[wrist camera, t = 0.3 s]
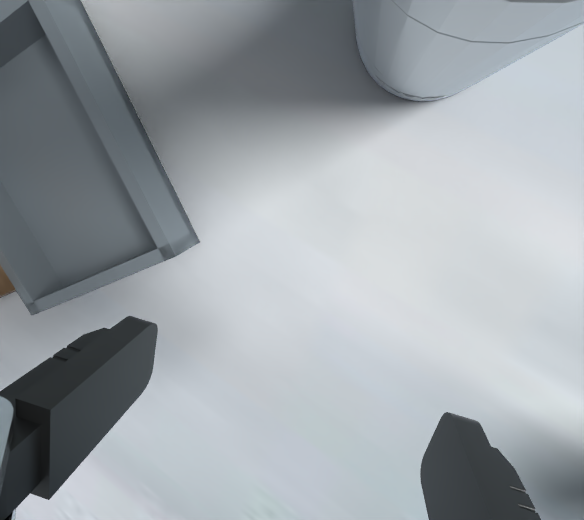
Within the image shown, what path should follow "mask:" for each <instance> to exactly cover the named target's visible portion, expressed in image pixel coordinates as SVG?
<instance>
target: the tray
mask: <svg viewBox="0 0 584 520" xmlns="http://www.w3.org/2000/svg"><path fill="white" fill-rule="evenodd" d="M199 242H200V241H199V239H198V237H197V235H196V233H195V231H194V229H193V227H192V225H191V223H190V221H189V219H188V217H187V215H186V213H185V211H184V209H183V207H182V205H181V203H180V201H179V199H178V197H177V195H176V193H175V191H174V189H173V187H172V185H171V183H170V181H169V178H168V176H167V174H166V172H165V170H164V168H163V166H162V164H161V162H160V160H159V158H158V156H157V154H156V152H155V150H154V148H153V146H152V144H151V142H150V140H149V138H148V136H147V134H146V132H145V130H144V128H143V126H142V124H141V122H140V120H139V118H138V116H137V114H136V112H135V110H134V108H133V106H132V104H131V102H130V100H129V98H128V95H127V93H126V91H125V89H124V87H123V85H122V83H121V81H120V79H119V77H118V75H117V73H116V71H115V69H114V67H113V65H112V63H111V61H110V59H109V57H108V55H107V53H106V51H105V49H104V47H103V45H102V43H101V41H100V39H99V37H98V35H97V33H96V31H95V29H94V27H93V25H92V23H91V21H90V19H89V17H88V15H87V12H86V10H85V8H84V6H83V4H82V2H81V0H0V265H1V267H2V269H3V270H4V272H5V273H6V275H7V276H8V278H9V280H10V281H11V283H12V284H13V286H14V288H15V290H16V291H17V293H18V294H19V296H20V298H21V299H22V301H23V302H24V304H25V305H26V307H27V309H28V310H29V312H30V313H31V315H34V314H37V313H39V312H42V311H44V310H46V309H49V308H51V307H54V306H56V305H59V304H61V303H63V302H66V301H68V300H71V299H73V298H76V297H78V296H80V295H83V294H85V293H88V292H90V291H93V290H95V289H98V288H100V287H102V286H105V285H107V284H110V283H112V282H115V281H117V280H119V279H122V278H124V277H127V276H129V275H132V274H134V273H136V272H139V271H141V270H144V269H146V268H149V267H151V266H153V265H156V264H158V263H161V262H163V261H166V260H168V259H171V258H173V257H175V256H177V255H179V254H181V253H182V252H184V251H186V250H187V249H189V248H191V247H192V246H194V245H196V244H198V243H199Z"/></svg>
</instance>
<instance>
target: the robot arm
mask: <svg viewBox="0 0 584 520" xmlns="http://www.w3.org/2000/svg"><path fill="white" fill-rule="evenodd" d="M353 8H354V20H355V31H356V41H357V45H358V49H359V53H360V57H361V59H362V61H363V63H364V65H365V67H366V69H367V71H368V73H369V74H370V75H371V76H372V78H373V79H374V80H375V81H376V82H377V84H379V85H380V86H381V87H383V88H384V89H385V90H387V91H388V92H389V93H391V94H394V95H396V96H398V97H401V98H403V99H408V100H414V101H434V100H438V99H442V98H446V97H449V96H452V95H454V94H456V93H458V92H460V91H462V90H464V89H466V88H468V87H470V86H472V85H474V84H476V83H478V82H479V81H481V80H483V79H485V78H487V77H489V76H490V75H492V74H494V73H496V72H498V71H499V70H501V69H503V68H505V67H507V66H508V65H510V64H512V63H514V62H516V61H517V60H519V59H521V58H523V57H525V56H526V55H528V54H530V53H532V52H534V51H535V50H537V49H539V48H541V47H543V46H544V45H546V44H548V43H550V42H552V41H553V40H555V39H557V38H559V37H560V36H562V35H564V34H566V33H568V32H569V31H571V30H573V29H575V28H577V27H578V26H580V25H582V24H584V0H353ZM156 339H157V325H156V324H155V323H152V322H148V321H145V320H142V319H138V318H135V317H132V316H128V317H126V318H125V319H123V320H122V321H120V322H119V323H118V324H116V325H115V326H114V327H112V328H111V329H107V328H102V329H99V330H96V331H93V332H90V333H87V334H84V335H82V336H81V337H79V338H78V339H77V340H75V341H74V342H72V343H71V344H69V345H68V346H67V348H63V349H62V350H60V351H59V352H57V353H56V354H54V356H53V358H49V359H47V360H46V361H44V362H43V363H41V364H40V365H38V366H37V367H35V368H34V369H32V370H31V371H29V372H28V373H27V374H25V375H24V376H22V377H21V378H19V379H18V380H16V381H15V382H13V383H12V384H10V385H9V386H7V387H6V388H4V389H3V390H2V391H0V520H15V517H16V508H17V506H18V505H19V504H20V503H21V502H22V501H23V500H24V499H25V498H26V497H27V496H28V495H29V494H30V493H31V494H34V495H37V496H39V497H42V498H45V499H48V500H49V499H50V498H51V497H52V496H53V495H54V494H55V492H56V491H57V490H58V489H59V488H60V487H61V486H62V484H63V483H64V482H65V481H66V480H67V479H68V478H69V476H70V475H71V474H72V473H73V472H74V471H75V469H76V468H77V467H78V466H79V465H80V464H81V463H82V461H83V460H84V459H85V458H86V457H87V456H88V455H89V453H90V452H91V451H92V450H93V449H94V448H95V447H96V445H97V444H98V443H99V442H100V441H101V440H102V438H103V437H104V436H105V435H106V434H107V433H108V432H109V430H110V429H111V428H112V427H113V426H114V425H115V424H116V422H117V421H118V420H119V419H120V418H121V417H122V416H123V414H124V413H125V412H126V411H127V410H128V409H129V407H130V406H131V405H132V404H133V403H134V402H135V401H136V399H137V398H138V397H139V396H140V395H141V394H142V392H143V391H144V390H145V388H146V386H147V384H148V382H149V380H150V377H151V374H152V370H153V363H154V355H155V347H156ZM421 484H422V489H423V494H424V499H425V503H426V508H427V513H428V518H429V520H541V519H540V517H539V515H538V513H535V507H534V505H533V503H532V501H531V499H530V497H529V495H528V494H526V493H525V491H526V490H525V488H524V486H523V484H522V482H521V480H520V478H519V476H518V474H517V472H516V470H515V469H514V467H513V466H512V465H511V464H510V463H509V462H508V461H507V459H506V458H505V457H504V456H503V455H502V454H501V452H500V451H499V450H498V449H497V448H493V447H491V446H490V444H489V441H488V439H487V437H486V435H485V433H484V431H483V429H482V427H481V425H480V423H479V422H477V421H475V420H472V419H468V418H465V417H462V416H458V415H455V414H452V413H448V412H446V413H444V414H443V416H442V417H441V419H440V421H439V423H438V426H437V428H436V430H435V432H434V434H433V436H432V439H431V441H430V443H429V445H428V447H427V449H426V452H425V454H424V456H423V459H422V464H421Z"/></svg>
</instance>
